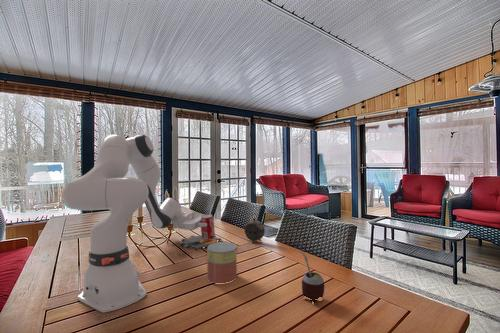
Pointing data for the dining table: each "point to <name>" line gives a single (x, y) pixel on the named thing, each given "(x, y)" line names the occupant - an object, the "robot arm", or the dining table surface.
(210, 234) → the soda can
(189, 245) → the sprocket plate
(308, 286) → the mate gourd
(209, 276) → the canned food
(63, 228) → the dining table surface
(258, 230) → the alarm clock
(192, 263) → the dining table surface
